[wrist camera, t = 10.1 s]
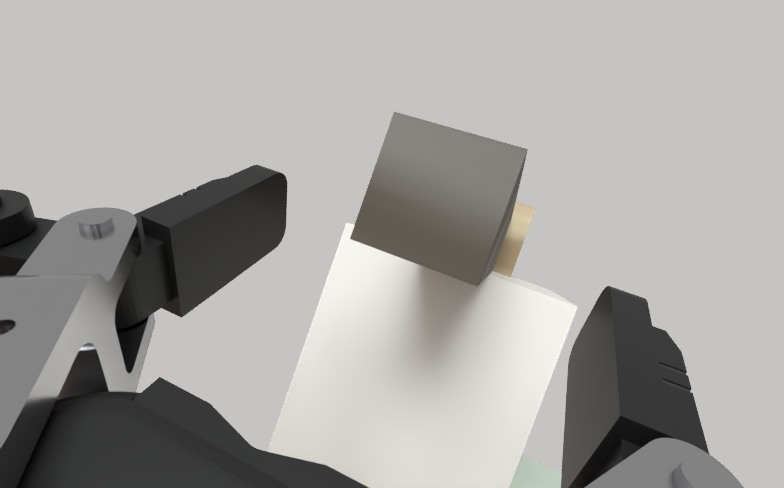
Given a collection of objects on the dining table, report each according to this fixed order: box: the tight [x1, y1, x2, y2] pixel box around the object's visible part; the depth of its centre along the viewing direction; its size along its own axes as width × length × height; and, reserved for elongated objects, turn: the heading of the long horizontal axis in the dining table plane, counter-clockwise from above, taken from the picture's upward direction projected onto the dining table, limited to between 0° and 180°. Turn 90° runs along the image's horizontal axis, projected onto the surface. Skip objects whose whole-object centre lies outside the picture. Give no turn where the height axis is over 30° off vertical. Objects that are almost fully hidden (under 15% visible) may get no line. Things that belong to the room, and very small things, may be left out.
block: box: [350, 112, 536, 287], centre depth 18 cm, size 19×5×4 cm, turn 164°
